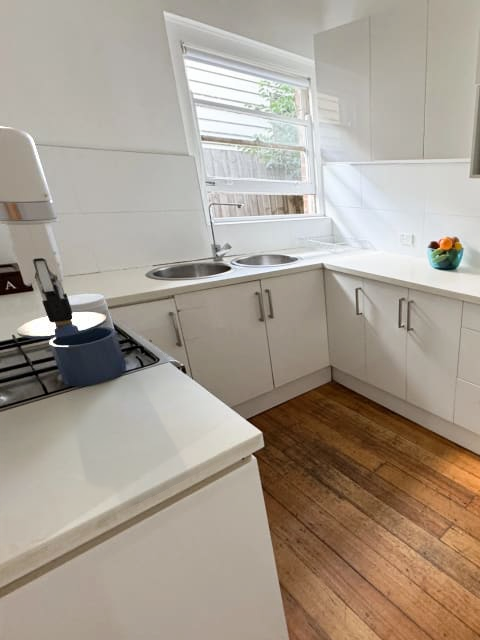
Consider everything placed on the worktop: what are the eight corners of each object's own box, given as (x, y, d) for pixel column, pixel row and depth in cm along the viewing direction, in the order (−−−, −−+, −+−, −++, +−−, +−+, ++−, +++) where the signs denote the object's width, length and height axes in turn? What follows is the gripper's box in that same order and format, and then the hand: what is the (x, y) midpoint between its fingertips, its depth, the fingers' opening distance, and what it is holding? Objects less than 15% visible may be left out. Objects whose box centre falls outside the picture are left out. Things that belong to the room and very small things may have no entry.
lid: (16, 347, 62) (0, 309, 60) (21, 325, 71) (7, 290, 68) (110, 332, 70) (100, 297, 67) (104, 313, 78) (95, 281, 76)
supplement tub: (72, 352, 98) (52, 297, 92) (117, 342, 104) (101, 290, 98) (75, 365, 91) (54, 307, 85) (123, 354, 97) (106, 299, 91)
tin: (64, 392, 81) (48, 351, 77) (63, 371, 88) (49, 334, 85) (129, 376, 87) (117, 338, 84) (123, 358, 95) (112, 323, 91)
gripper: (-2, 208, 65) (35, 309, 73) (-14, 218, 54) (31, 336, 62) (56, 208, 70) (85, 303, 77) (55, 217, 59) (90, 327, 66)
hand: (61, 317), depth 69 cm, fingers closed on lid, 2 cm apart
